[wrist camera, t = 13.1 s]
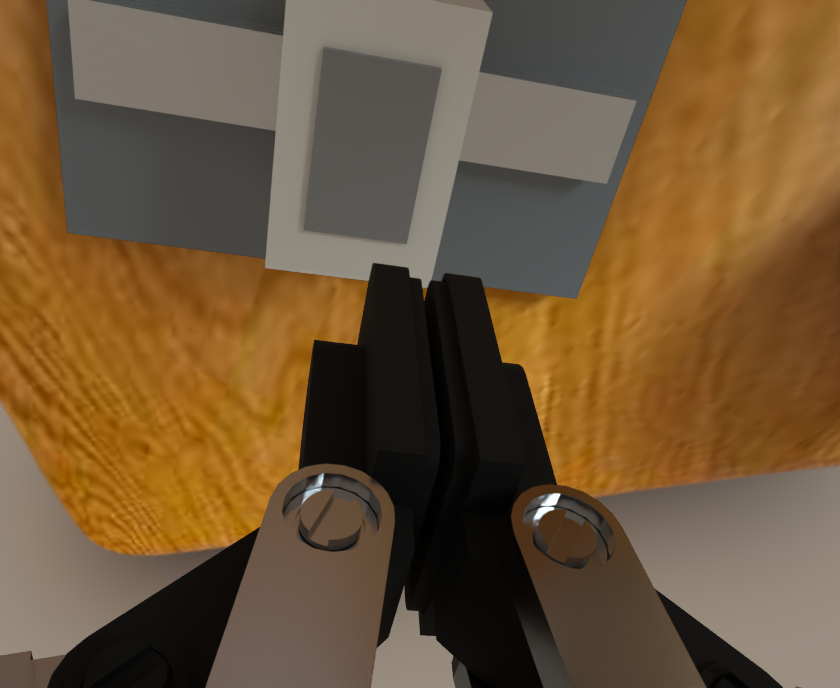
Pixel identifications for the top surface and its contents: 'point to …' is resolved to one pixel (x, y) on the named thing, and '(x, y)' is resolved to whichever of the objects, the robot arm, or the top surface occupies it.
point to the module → (370, 131)
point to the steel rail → (260, 76)
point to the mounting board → (254, 147)
